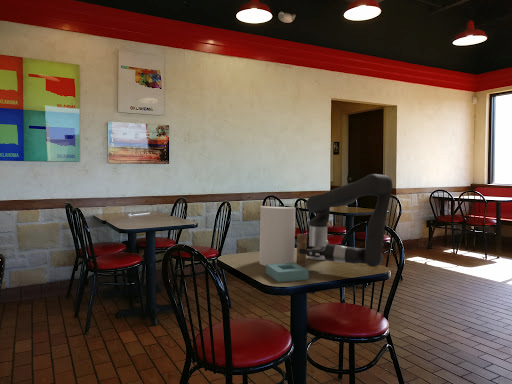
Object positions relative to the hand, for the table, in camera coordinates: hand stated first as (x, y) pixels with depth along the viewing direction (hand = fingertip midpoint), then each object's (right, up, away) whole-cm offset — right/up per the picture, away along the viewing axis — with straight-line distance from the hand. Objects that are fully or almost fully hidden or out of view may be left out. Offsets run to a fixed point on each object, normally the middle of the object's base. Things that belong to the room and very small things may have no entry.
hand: (302, 249), depth 186 cm
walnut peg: (-1, -9, +1) cm, 9 cm away
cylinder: (-12, -8, +11) cm, 18 cm away
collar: (-9, -10, -14) cm, 19 cm away
